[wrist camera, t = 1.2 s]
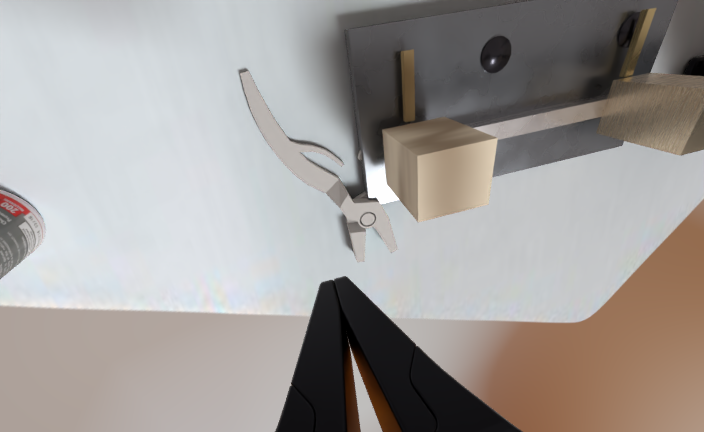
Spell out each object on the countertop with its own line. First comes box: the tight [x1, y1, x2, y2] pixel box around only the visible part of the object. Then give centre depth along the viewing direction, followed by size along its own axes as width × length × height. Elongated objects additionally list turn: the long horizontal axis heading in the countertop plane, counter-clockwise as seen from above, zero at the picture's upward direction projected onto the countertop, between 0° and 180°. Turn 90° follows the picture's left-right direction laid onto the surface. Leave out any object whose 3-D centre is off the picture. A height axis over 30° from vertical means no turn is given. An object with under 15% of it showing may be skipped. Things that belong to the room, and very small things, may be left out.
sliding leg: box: [382, 50, 498, 222], centre depth 15 cm, size 4×7×6 cm, turn 8°
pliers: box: [240, 71, 398, 262], centre depth 20 cm, size 10×2×15 cm
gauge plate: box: [345, 0, 704, 204], centre depth 17 cm, size 22×11×7 cm, turn 98°
